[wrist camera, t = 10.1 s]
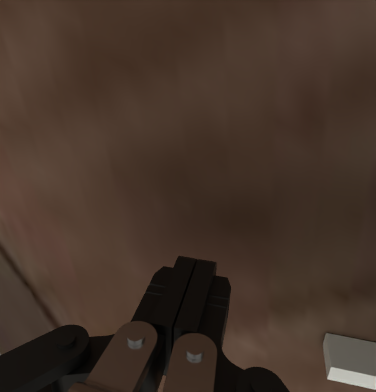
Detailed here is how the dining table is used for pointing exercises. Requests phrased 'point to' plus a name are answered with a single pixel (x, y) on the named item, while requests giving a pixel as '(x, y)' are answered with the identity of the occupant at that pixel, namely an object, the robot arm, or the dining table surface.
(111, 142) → the dining table surface
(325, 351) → the frame
